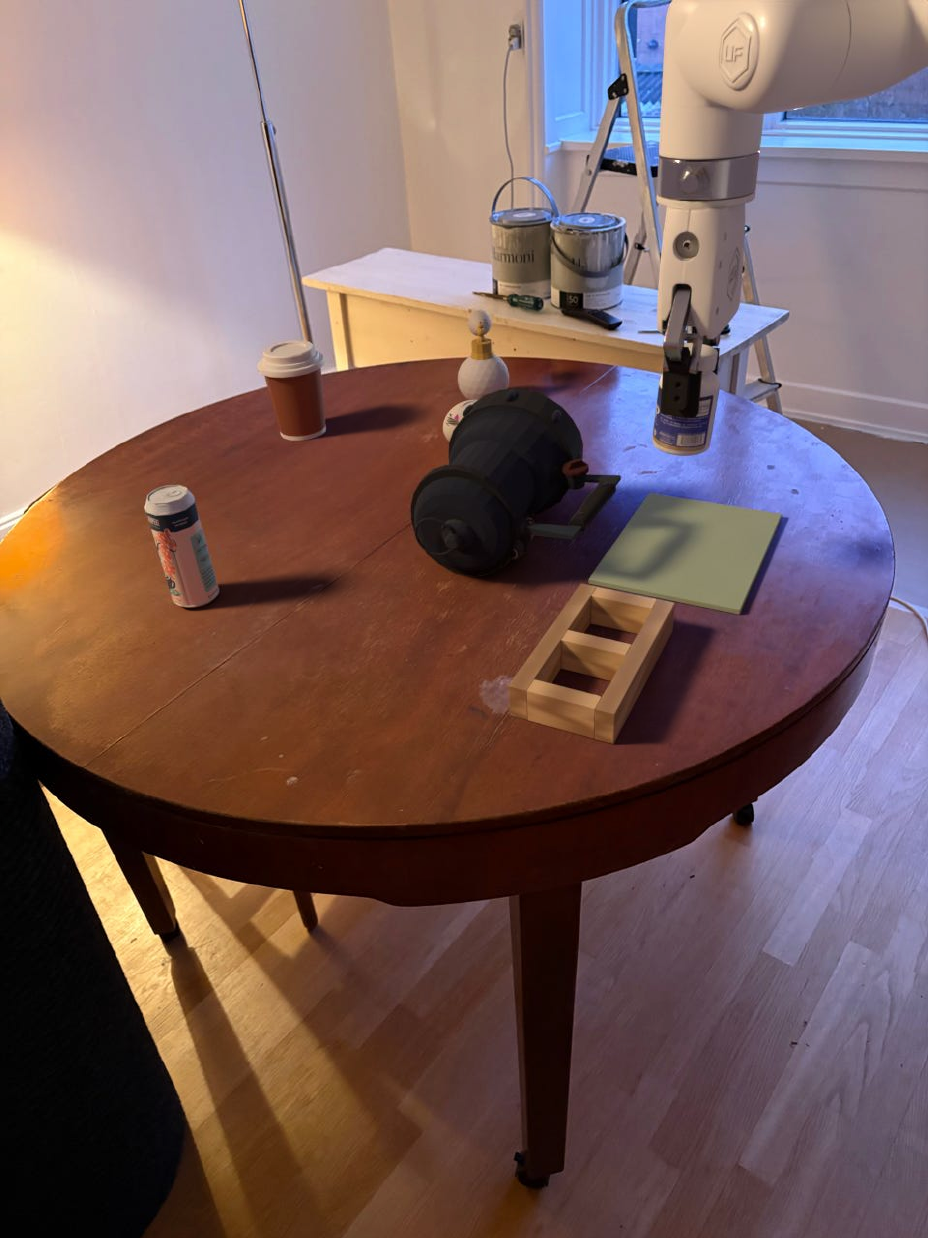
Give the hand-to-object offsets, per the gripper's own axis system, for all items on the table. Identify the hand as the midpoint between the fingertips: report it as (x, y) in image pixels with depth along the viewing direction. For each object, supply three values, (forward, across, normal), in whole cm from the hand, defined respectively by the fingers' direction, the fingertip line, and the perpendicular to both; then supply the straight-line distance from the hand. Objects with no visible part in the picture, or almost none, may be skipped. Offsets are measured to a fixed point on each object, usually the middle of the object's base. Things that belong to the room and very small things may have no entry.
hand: (688, 400), depth 79 cm
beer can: (+18, -22, +44) cm, 52 cm away
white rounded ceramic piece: (+18, +20, +33) cm, 43 cm away
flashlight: (+18, -1, +17) cm, 25 cm away
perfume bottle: (+18, +37, +40) cm, 57 cm away
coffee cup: (+18, +18, +59) cm, 64 cm away
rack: (+18, -18, +2) cm, 26 cm away
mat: (+18, +5, 0) cm, 19 cm away
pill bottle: (+5, 0, 0) cm, 5 cm away
